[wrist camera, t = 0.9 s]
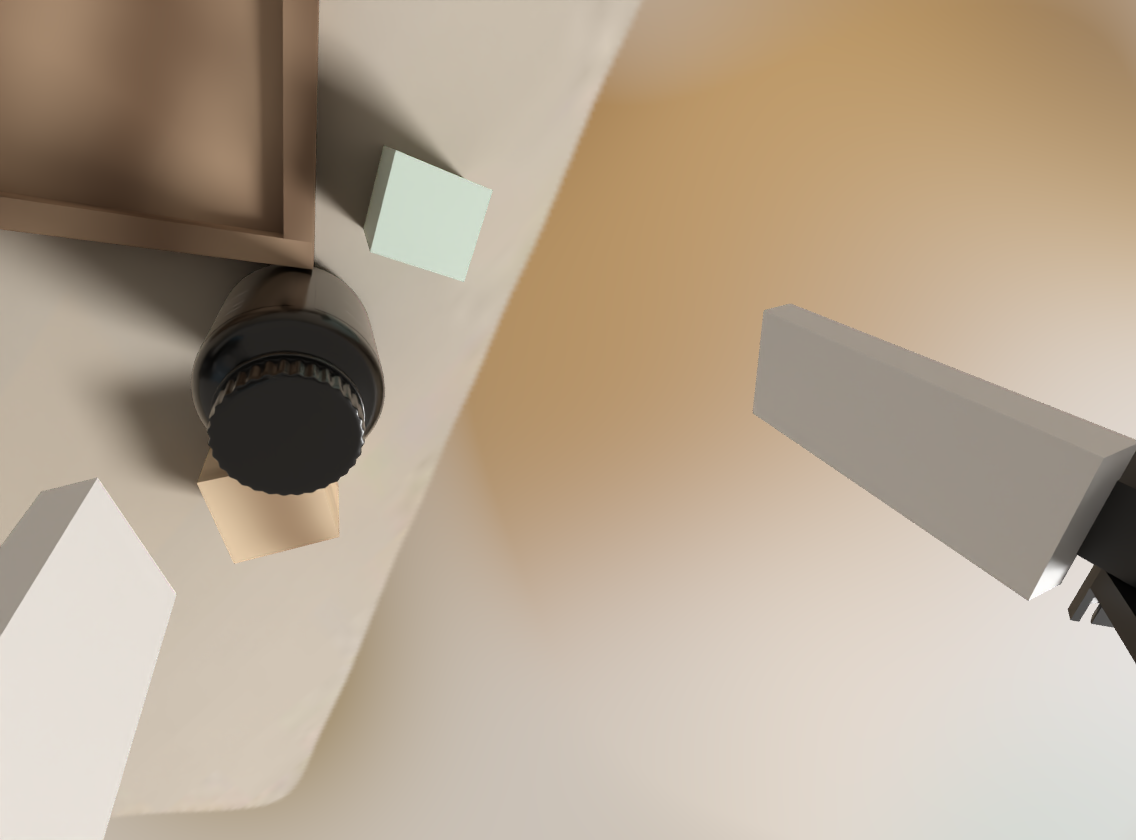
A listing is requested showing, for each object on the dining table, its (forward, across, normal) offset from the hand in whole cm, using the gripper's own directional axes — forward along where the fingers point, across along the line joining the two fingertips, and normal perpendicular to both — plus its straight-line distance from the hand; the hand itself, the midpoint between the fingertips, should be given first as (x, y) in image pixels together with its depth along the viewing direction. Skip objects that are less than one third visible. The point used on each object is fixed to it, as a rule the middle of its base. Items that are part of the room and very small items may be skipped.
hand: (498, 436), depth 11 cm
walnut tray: (+21, -8, +8) cm, 24 cm away
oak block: (+20, -9, -10) cm, 25 cm away
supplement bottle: (+21, -5, -3) cm, 22 cm away
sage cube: (+20, +2, +2) cm, 21 cm away
